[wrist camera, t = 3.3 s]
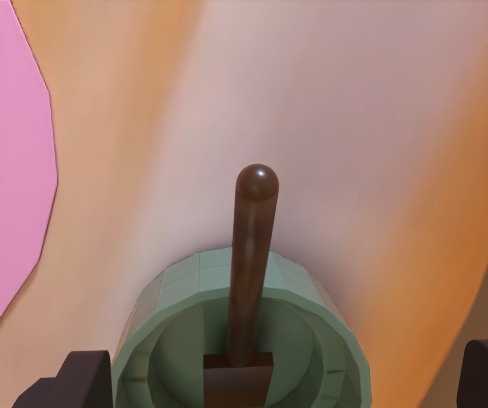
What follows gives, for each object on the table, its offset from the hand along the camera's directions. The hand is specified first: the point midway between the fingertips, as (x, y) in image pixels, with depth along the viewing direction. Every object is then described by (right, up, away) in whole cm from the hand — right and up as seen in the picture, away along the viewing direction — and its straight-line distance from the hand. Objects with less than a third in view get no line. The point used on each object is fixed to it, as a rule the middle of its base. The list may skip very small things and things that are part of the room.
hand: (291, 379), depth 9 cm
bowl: (-2, -5, +19) cm, 19 cm away
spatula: (-1, -3, +12) cm, 13 cm away
